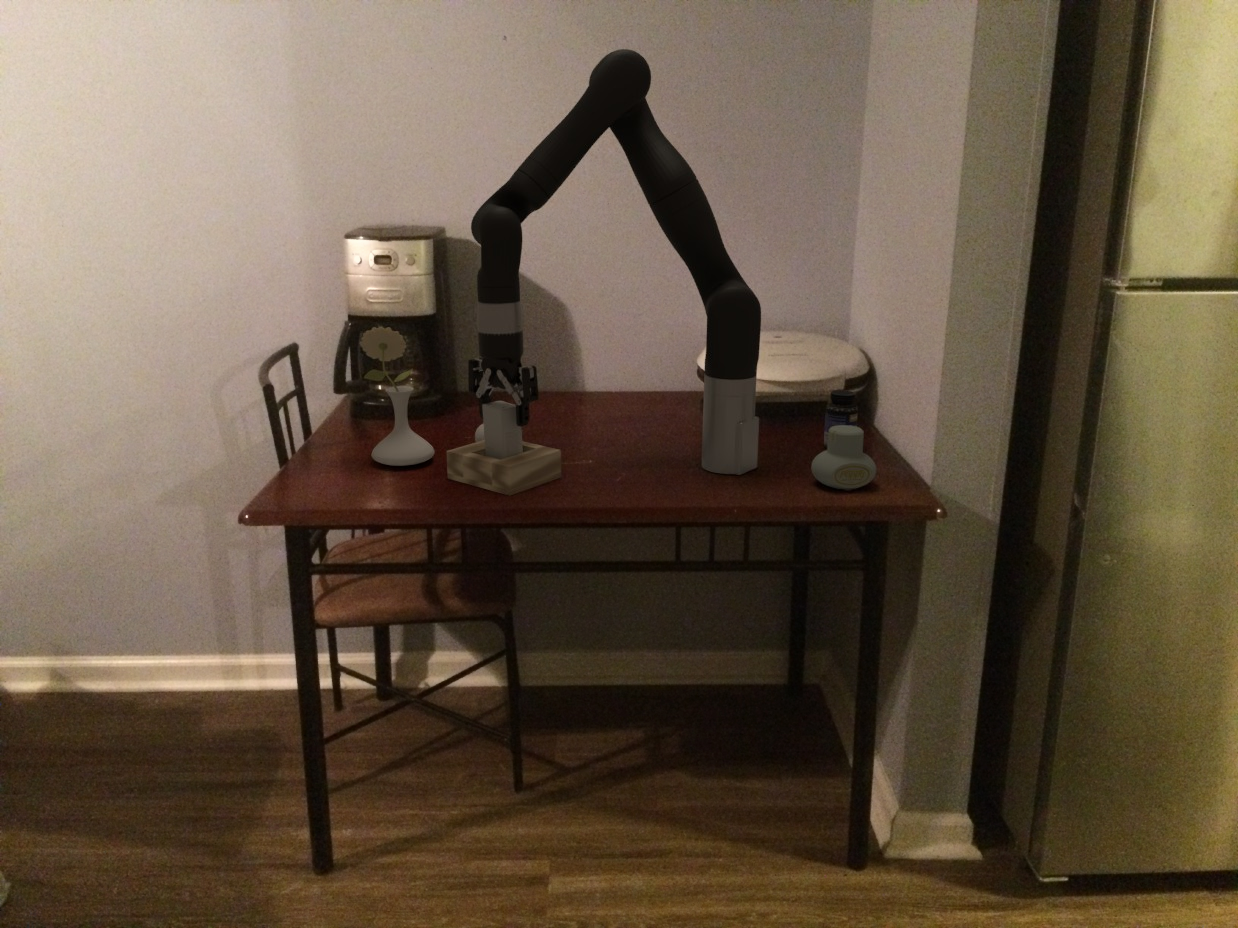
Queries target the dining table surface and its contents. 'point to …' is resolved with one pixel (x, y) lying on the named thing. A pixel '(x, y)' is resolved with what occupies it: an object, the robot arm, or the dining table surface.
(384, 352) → the flower in vase
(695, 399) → the dining table surface
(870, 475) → the air freshener
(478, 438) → the white egg
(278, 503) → the dining table surface
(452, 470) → the caddy
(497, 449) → the skincare box
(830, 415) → the pill bottle
